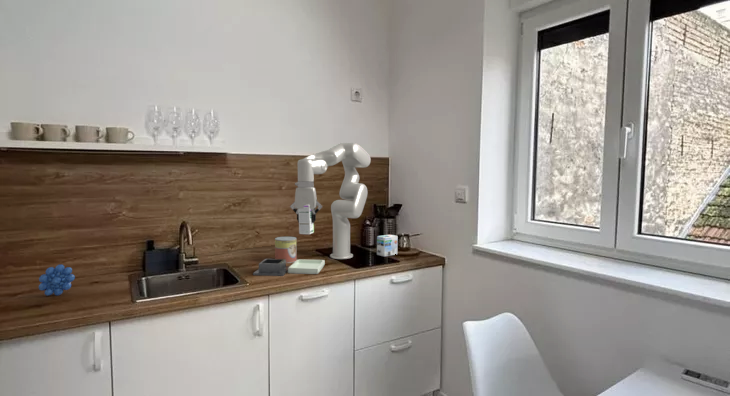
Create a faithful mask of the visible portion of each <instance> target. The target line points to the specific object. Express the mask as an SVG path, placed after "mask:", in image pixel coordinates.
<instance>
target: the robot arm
mask: <svg viewBox="0 0 730 396" xmlns="http://www.w3.org/2000/svg"><path fill="white" fill-rule="evenodd" d="M371 161H372V160H371V155H370V154H369V153H368V152H367V150H365V149H364V148H363V147H362V146H361V145H359V144H358V143H356V142H343V143H341V142H340V143H338V144H336V145H335V146H333V147H331V148H329V149H326V150H322V151H320V152H316V153H313V154H310V155H307V156H306V157H304V158H301V159H299V160H297V182H295V183H294V185H295V186H297V187H295V193H294V201H293V203H292V204H291V205H289V208H290V209H291V210H292V211H293V212H294V213H295V214H296V220H297V222H298V223H299V210H298V209H300V208H304V205H306V204H309V205H310V209H311V210H312V212H313V214H312V223H314V224H315V221H316V220H317V218H316V215H317V213H318V212H319V211H320V210H321V209H322V208H323V205H322V204H321V203H320V202H319V201H318V199H317V191H316V187H315V184H314V181H315V179H314V176H315V175H322V174H325V173H326V172H327V169H328V167H332V166H334V165H337V164H339V163H340V162H341V163H342V165H343V170H344V178H343V180H342V183H341V186H340V188H339V197H340V199H337V200H334V201H333V202H332V203H331V205H330V211H331V217H332V253H331V254H329V257H330V258H331V259H335V260H347V259H351V258H353V257H354V254H353V253H351V222H350V221H349V219H358V218H360V216H362V213H363V211H364V207H365V204H366V202H367V198H368V193H369V192H368V188H367V186H366V185H365V184H364V183H361V182H360V175H359V174H360V173H358V171H357V168H367V167H369V166H370V164H371ZM359 182H360V183H359Z"/></svg>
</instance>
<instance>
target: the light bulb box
mask: <svg viewBox="0 0 730 396" xmlns="http://www.w3.org/2000/svg"><path fill="white" fill-rule="evenodd" d="M398 238H399V237H398V235H395V234H384V235H377V236H376V255H377V256H381V257H389V256H395V254H396V255H398V242H399V241H398V240H399V239H398Z"/></svg>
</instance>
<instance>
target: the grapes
mask: <svg viewBox="0 0 730 396" xmlns="http://www.w3.org/2000/svg"><path fill="white" fill-rule="evenodd" d="M75 279H76V276H75V275H74V273H73V268H72V267H68V266H67V267H65V265H64V264H57V265H56V266H55V267H54V266H50V267H48V268H46V270H45V274H44V273H43V274H41V275H40V276H39V278H38V281H39V282H40V284H39V285H38V289H39V291H44V295H45V296H51V295H54V296H60V295H62V294H63V293H64V291H68V290H70V289H72V288H71V287H72V282H73V281H74V280H75Z"/></svg>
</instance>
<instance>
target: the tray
mask: <svg viewBox="0 0 730 396" xmlns="http://www.w3.org/2000/svg"><path fill="white" fill-rule="evenodd" d="M325 264H326V263H325V259H304V258H303V259H301V258H300V259H298V258H297V260H296V261H295V262H292V264H291V265H289V266H290V267H289V268H288V272H287V274H295V275H297V274H303V275H305V274H306V275H318V274H320V272H321V270H322V269H323V268H324V266H325Z"/></svg>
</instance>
